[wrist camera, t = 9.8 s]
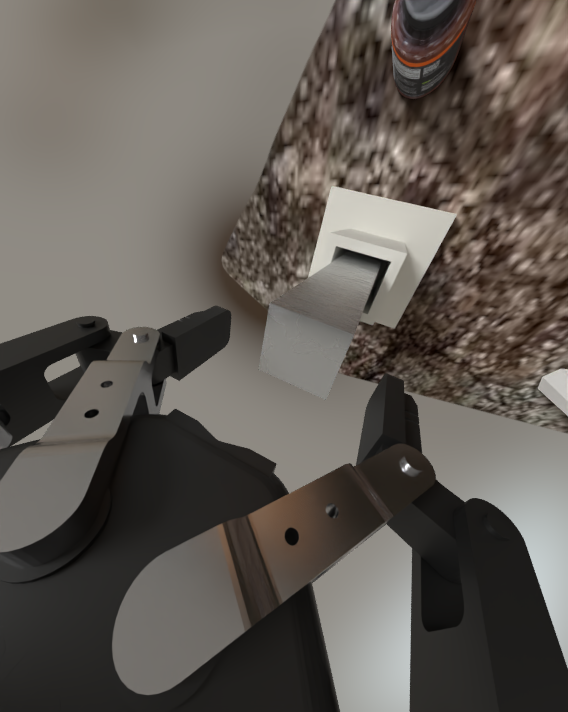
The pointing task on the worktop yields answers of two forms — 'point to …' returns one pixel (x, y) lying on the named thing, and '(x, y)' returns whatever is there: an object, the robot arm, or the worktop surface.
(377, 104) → the worktop surface
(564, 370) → the pepper shaker
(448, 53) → the supplement bottle
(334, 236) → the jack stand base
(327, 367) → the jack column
